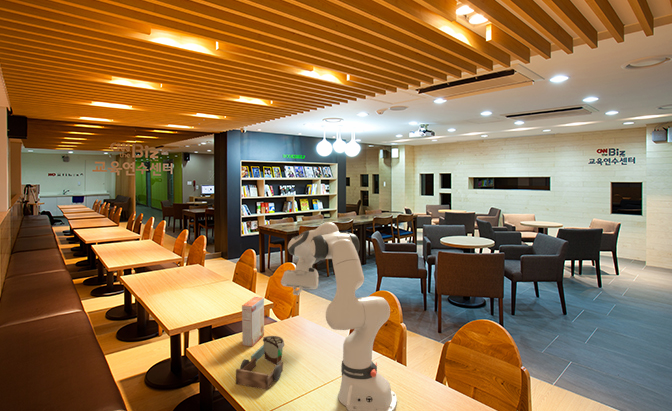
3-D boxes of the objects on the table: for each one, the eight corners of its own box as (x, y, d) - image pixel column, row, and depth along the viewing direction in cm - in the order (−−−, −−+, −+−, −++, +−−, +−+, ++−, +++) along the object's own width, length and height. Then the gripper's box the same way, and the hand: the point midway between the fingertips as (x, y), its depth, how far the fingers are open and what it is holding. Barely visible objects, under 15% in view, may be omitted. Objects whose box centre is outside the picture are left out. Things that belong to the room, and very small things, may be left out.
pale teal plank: (265, 350, 175) (265, 342, 175) (267, 351, 175) (267, 343, 175) (251, 364, 162) (251, 356, 162) (253, 365, 162) (253, 356, 161)
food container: (289, 362, 165) (290, 341, 164) (279, 367, 160) (279, 345, 160) (273, 353, 173) (273, 333, 172) (262, 357, 169) (262, 336, 168)
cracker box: (254, 334, 194) (254, 296, 193) (264, 335, 193) (264, 297, 191) (241, 345, 180) (241, 304, 179) (252, 347, 179) (252, 306, 178)
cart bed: (285, 371, 157) (285, 358, 156) (269, 390, 142) (269, 376, 142) (251, 365, 161) (251, 352, 161) (233, 383, 147) (233, 369, 146)
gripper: (283, 266, 197) (275, 289, 188) (319, 270, 191) (312, 293, 182) (286, 272, 201) (279, 295, 193) (321, 276, 196) (315, 299, 187)
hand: (295, 294), depth 188 cm, fingers closed
